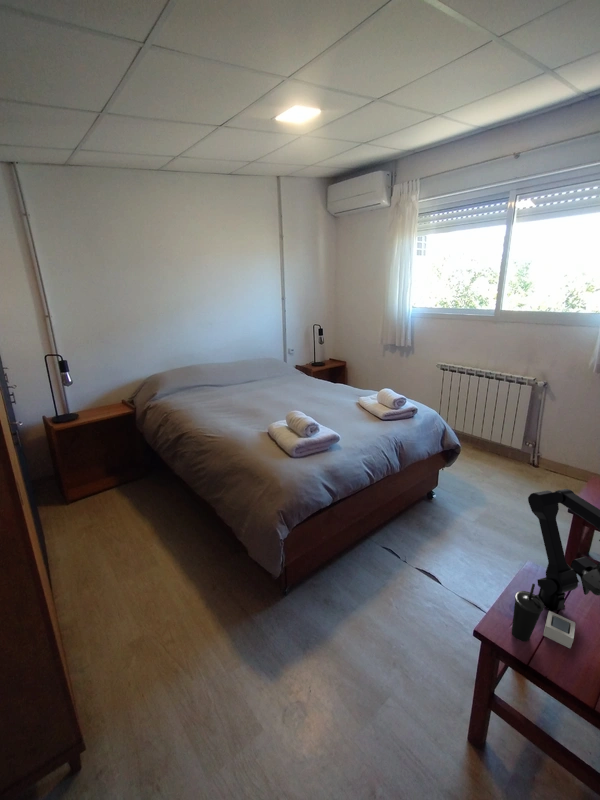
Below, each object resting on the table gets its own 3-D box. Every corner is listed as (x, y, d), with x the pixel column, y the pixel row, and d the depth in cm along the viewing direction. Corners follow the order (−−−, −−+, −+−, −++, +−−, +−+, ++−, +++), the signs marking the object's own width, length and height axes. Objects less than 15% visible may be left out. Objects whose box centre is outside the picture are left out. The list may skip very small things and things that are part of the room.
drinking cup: (531, 651, 111) (545, 599, 104) (503, 635, 116) (515, 584, 109) (537, 634, 116) (551, 584, 110) (510, 619, 121) (523, 570, 115)
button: (550, 632, 116) (552, 625, 115) (551, 623, 119) (553, 616, 118) (565, 640, 113) (567, 632, 112) (566, 630, 116) (569, 623, 115)
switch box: (543, 635, 116) (546, 625, 115) (546, 619, 121) (548, 610, 120) (570, 648, 112) (573, 639, 110) (572, 632, 117) (575, 622, 116)
